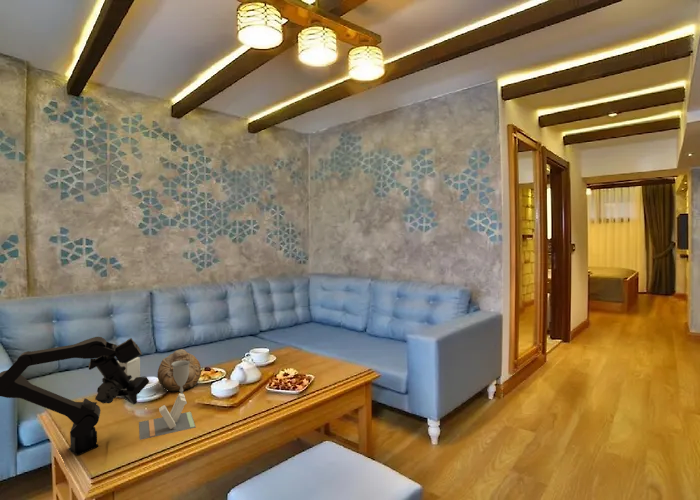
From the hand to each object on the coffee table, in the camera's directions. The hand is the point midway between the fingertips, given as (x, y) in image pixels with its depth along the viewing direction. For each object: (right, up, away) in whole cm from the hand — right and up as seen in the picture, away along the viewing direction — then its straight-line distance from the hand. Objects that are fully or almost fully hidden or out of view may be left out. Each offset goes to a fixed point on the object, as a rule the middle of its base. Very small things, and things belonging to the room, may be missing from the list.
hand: (135, 403), depth 141 cm
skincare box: (-21, -9, +34) cm, 41 cm away
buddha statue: (-2, -9, +43) cm, 44 cm away
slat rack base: (+9, -11, +5) cm, 15 cm away
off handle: (+13, -10, +3) cm, 16 cm away
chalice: (+7, -10, +22) cm, 25 cm away
